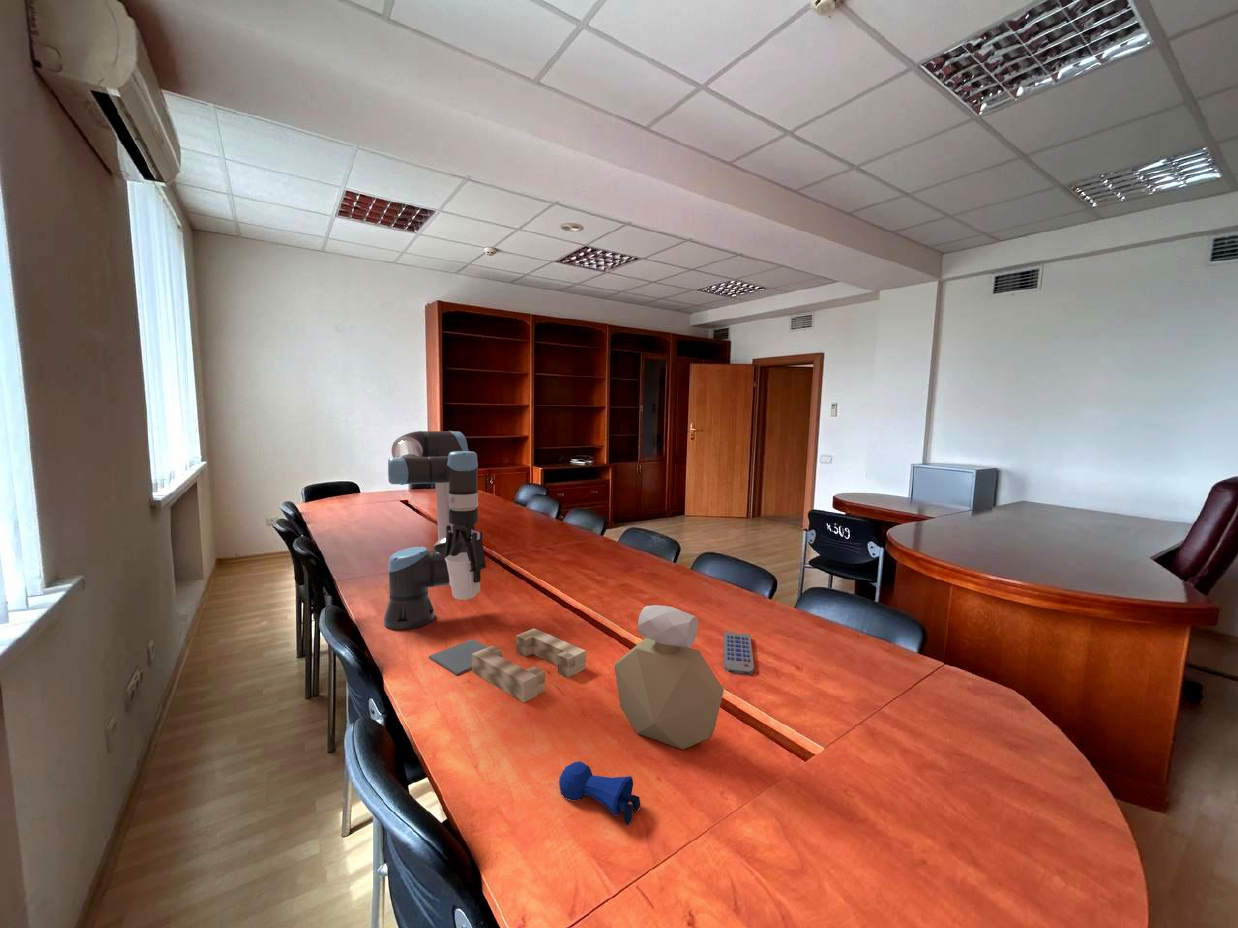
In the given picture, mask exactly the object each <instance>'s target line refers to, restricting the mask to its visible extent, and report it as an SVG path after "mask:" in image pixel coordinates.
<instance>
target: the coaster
mask: <svg viewBox="0 0 1238 928" xmlns="http://www.w3.org/2000/svg"><path fill="white" fill-rule="evenodd" d="M487 647H488V646H487V645H485V644H483V643H482V642H479V641H477V640H475V639H473V638H471V639H469V640H466V641H464V642H461V643H459V644H456V645H453V646H451V647H448V648H446V649H443V650H441V651H438V652H435V653H433V654H429V655H428V658H429V659H430V660H431V661H433V662H434V663H436V664H438V665H440V666H441V667H443V668H444V669H446V670H447V671H449V672H451V673H452V674H454V675H456V676H460V675H461V674H464V673H466V672H468V671H470V670H471V671H472V654H473V653H475V652H478V651H480V650H483V649H485V648H487Z"/></svg>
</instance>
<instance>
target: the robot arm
mask: <svg viewBox="0 0 1238 928" xmlns="http://www.w3.org/2000/svg"><path fill="white" fill-rule="evenodd" d="M391 455H392V456H391V457H389V458H388V459H387V470H388V471H387V478H388V479H387V480H388V483H389V484H391V485H401V486H405V485H415V484H416V485H417V484H419V485H420V484H435V499H436V500H435V501H436V517H437V518H436V519H437V522H436V523H437V539H438V540H437V541H436V543H435V544H433V550H430V551H429V550H428V548H427V547H425V546H414V547H413V546H412V547H407V548H404V549H400V550H397V551H395V552H394V553H392V554H391V555H390V557H389V559H388V568H387V572H388V585H389V588H388V591H389V593H388V594H389V597H388V598H389V601H388V603H387V607H386V610H385V612H384V616H383V625H384V627H385V628H388V629H391V630H399V631H400V630H401V631H404V630H411V629H416V628H420V627H424V626H426V625H428V624H429V623H431V622H432V621H434V619H435V609H434V606H433V604H432V601H431V599H430V596H429V588H434V587H443V586H444V587H445V586H450V587H451V583H450V578H449V573H448V568H447V563H446V560H445V558H446V557H447V556H449V555H452V556H456V555H458V554H459V553H463V552H467V555H468V558H469V562H471V563H470V565H471V570H469V571H470V595H473V594H476V595H477V594H480V593H481V579H482V577H481V571H482V570H483V569H486V568H487V564H486V557H485V550H484V545H483V532H482V531H477V530H476V528H475V527H476V526H475V524H476V523H477V522H478V521H479V509H478V508H477V507H479V493H478V492H479V491H478V471H479V470H478V467H479V462H478V455H477V453H476V452H475V451H470V450H469V448H468V442H467V438H466V437H465V435H464V433H462V432H461V431H454V430H453V431H452V430H448V431H447V430H445V431H444V430H443V431H442V430H439V431H438V430H435V431H434V430H433V431H432V430H427V431H426V430H417V431H412V432H408V433H405V434H403V435H401V436H399V437H398V438H397V439H396V440H395V441H394V442H393V443H392V446H391Z"/></svg>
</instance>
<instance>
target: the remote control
mask: <svg viewBox="0 0 1238 928" xmlns="http://www.w3.org/2000/svg"><path fill="white" fill-rule="evenodd" d="M754 664H755V663H754V657H753V648H752V640H751V634H747V633H738V632H729V631H728V632H727V631H723V669H725V670H726V671H728V672H730V673H729V674H734V673H736V674H737V675H745V676H752V675H753V674H754V673H755V665H754ZM725 670H724V671H725ZM726 671H725V672H726ZM728 672H727V673H728ZM753 672H754V673H753ZM752 673H753V674H752ZM736 674H735V675H736Z"/></svg>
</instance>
